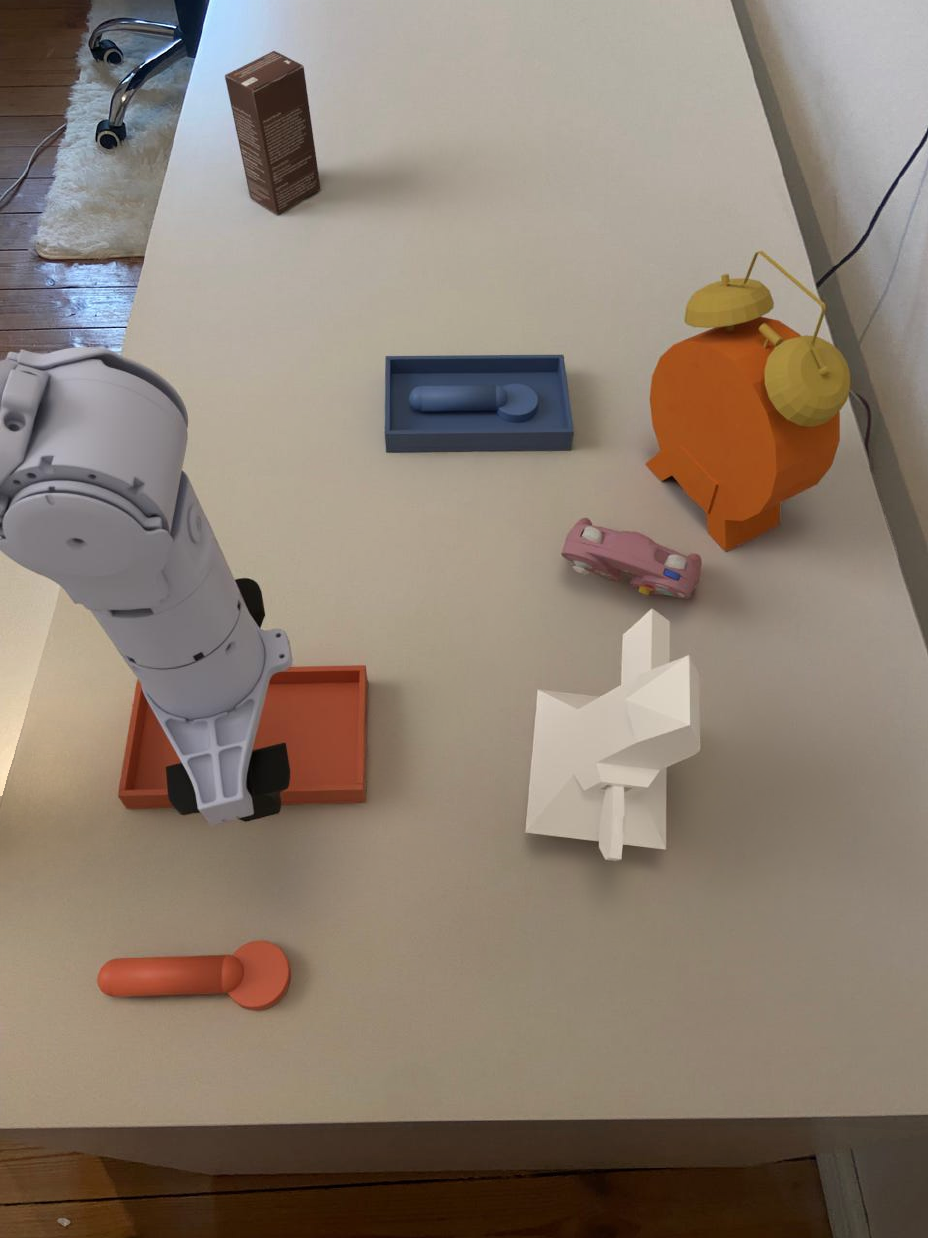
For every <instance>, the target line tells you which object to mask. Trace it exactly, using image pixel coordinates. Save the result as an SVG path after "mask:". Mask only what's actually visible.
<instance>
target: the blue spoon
mask: <svg viewBox="0 0 928 1238" xmlns="http://www.w3.org/2000/svg"><path fill="white" fill-rule="evenodd" d="M409 402H410V405H411V406H412V407H413V408H414V409H415V410H417V411H495V412H496V413H497V415H498V416H500V417H501V418H502V419H504V420H507V421H510V422H523V421H527V420H529V419H531V418H532V417H533V416H534V415H535V414H536V412H537V408H538V396H537V394H536V393H535V391H534V390H533V389H531V388H530V387H528V386H526V385H522V384H508V385H505V386H503V387H501V386H497V385H481V386H418V387H416V388H414V389H413V390H412V391H411V393H410V395H409Z"/></svg>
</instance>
